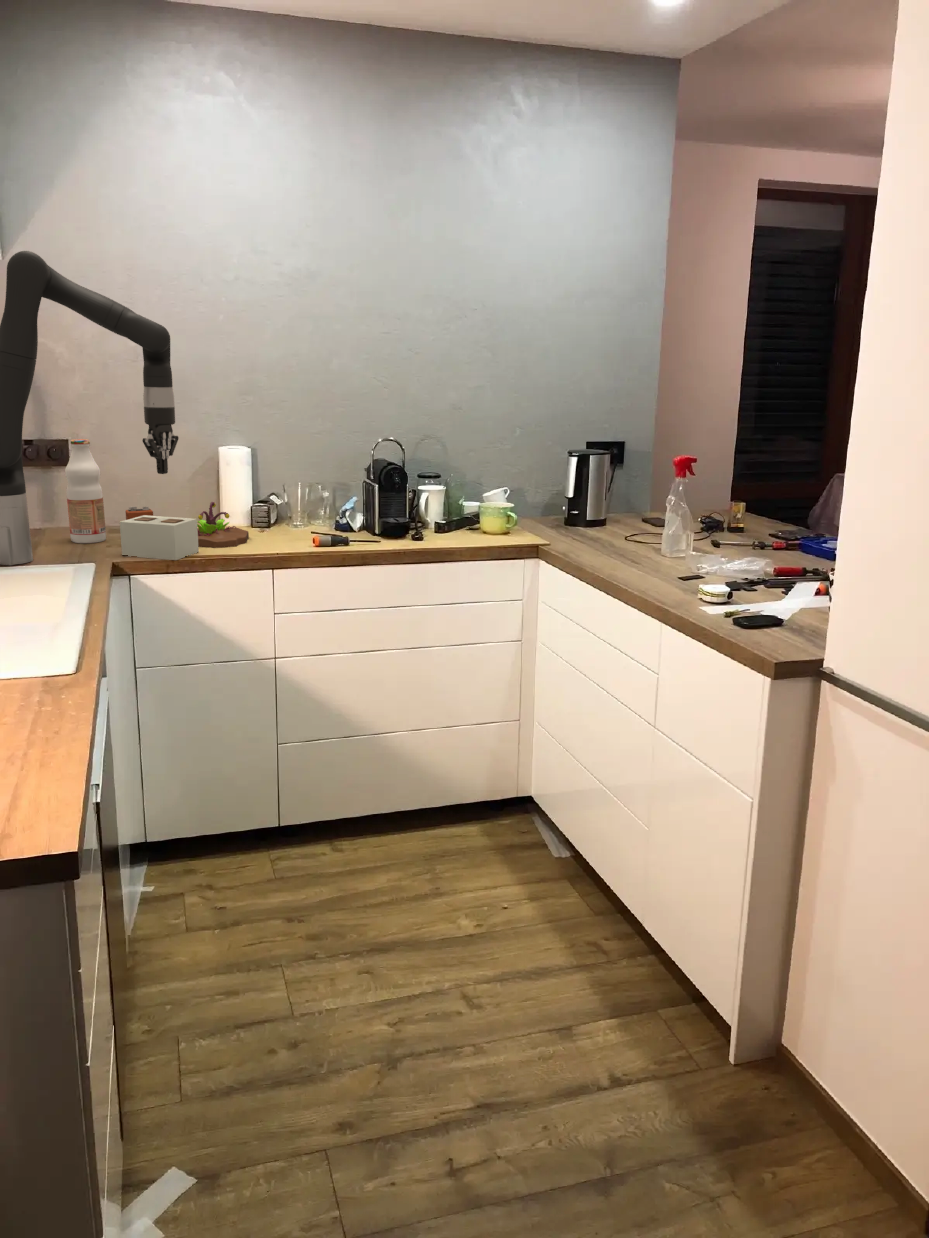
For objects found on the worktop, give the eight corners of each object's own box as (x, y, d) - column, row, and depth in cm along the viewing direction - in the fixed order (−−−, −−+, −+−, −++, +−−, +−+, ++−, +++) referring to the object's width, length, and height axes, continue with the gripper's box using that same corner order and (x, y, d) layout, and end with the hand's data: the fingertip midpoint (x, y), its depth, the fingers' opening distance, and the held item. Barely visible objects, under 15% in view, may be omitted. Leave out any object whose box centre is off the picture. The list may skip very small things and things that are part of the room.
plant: (257, 536, 289) (256, 498, 286) (237, 550, 270) (235, 509, 267) (191, 534, 291) (188, 496, 288) (166, 547, 272) (163, 507, 269)
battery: (127, 542, 277) (124, 506, 274) (152, 540, 280) (149, 505, 277) (130, 544, 273) (127, 508, 271) (155, 542, 276) (153, 507, 274)
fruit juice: (77, 545, 272) (68, 442, 264) (66, 539, 279) (56, 439, 271) (111, 541, 277) (103, 440, 270) (99, 536, 284) (91, 437, 277)
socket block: (175, 560, 254) (173, 525, 252) (122, 555, 259) (119, 521, 256) (198, 552, 265) (196, 518, 262) (146, 548, 269) (144, 515, 267)
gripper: (156, 407, 245) (160, 477, 249) (186, 405, 257) (189, 472, 261) (130, 405, 247) (134, 475, 251) (161, 403, 259) (164, 470, 263)
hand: (162, 473), depth 256 cm, fingers closed
